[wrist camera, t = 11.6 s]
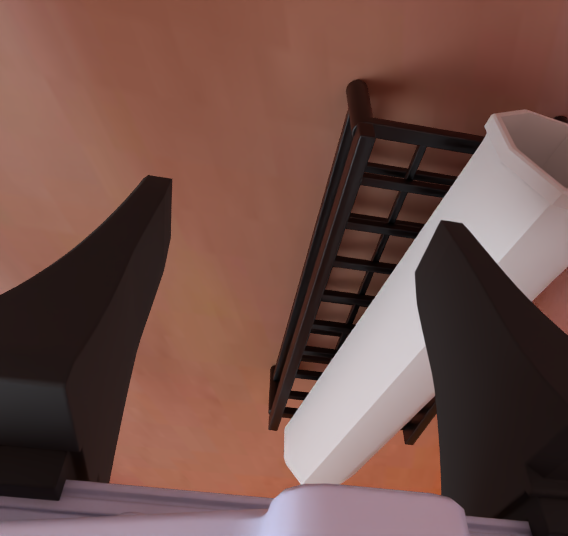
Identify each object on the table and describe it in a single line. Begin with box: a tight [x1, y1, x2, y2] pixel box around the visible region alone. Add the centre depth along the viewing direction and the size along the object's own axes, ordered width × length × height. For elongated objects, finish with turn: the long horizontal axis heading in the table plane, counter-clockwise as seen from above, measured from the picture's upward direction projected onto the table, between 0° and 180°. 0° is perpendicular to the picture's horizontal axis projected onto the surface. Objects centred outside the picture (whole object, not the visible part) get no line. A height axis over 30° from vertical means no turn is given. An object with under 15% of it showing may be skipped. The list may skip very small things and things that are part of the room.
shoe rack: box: [268, 80, 568, 445], centre depth 29 cm, size 10×22×4 cm, turn 170°
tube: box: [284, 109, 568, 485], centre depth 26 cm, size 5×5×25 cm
